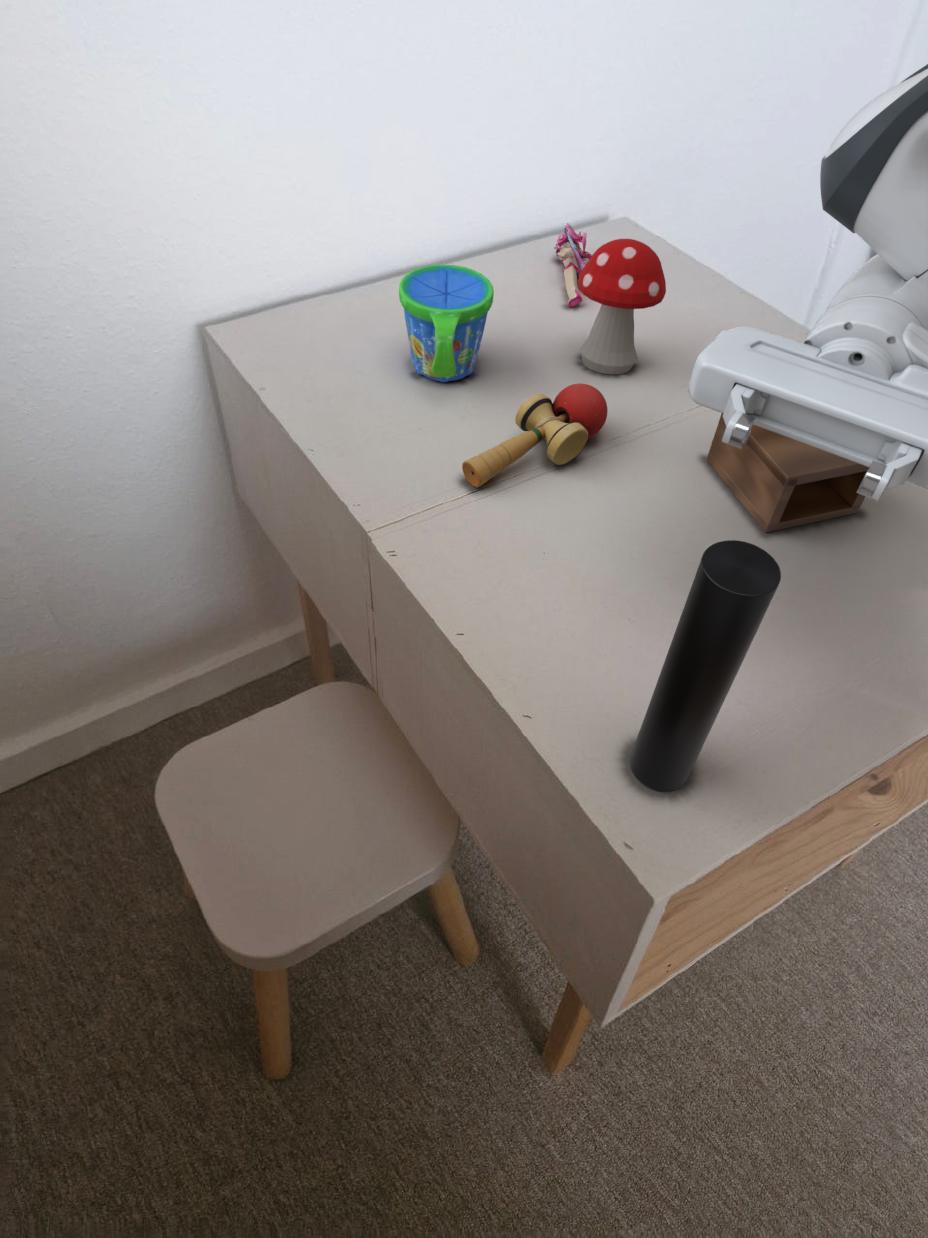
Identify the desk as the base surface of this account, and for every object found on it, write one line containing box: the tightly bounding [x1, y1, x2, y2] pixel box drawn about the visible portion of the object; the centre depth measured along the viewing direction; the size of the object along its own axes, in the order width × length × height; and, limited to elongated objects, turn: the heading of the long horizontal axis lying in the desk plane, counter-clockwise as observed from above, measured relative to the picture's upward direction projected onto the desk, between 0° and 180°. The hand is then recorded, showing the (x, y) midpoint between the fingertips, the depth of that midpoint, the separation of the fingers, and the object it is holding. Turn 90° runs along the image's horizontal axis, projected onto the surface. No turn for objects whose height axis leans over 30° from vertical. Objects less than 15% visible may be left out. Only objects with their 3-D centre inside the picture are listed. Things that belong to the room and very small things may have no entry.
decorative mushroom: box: [577, 238, 667, 376], centre depth 98 cm, size 10×9×15 cm
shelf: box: [706, 412, 869, 533], centre depth 85 cm, size 12×11×12 cm
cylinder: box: [629, 539, 782, 792], centre depth 58 cm, size 5×5×22 cm
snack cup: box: [398, 264, 495, 383], centre depth 97 cm, size 16×10×10 cm
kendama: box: [461, 382, 608, 489], centre depth 89 cm, size 8×6×18 cm
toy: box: [553, 222, 593, 308], centre depth 115 cm, size 7×6×15 cm
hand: (800, 462), depth 57 cm, fingers open, 8 cm apart
